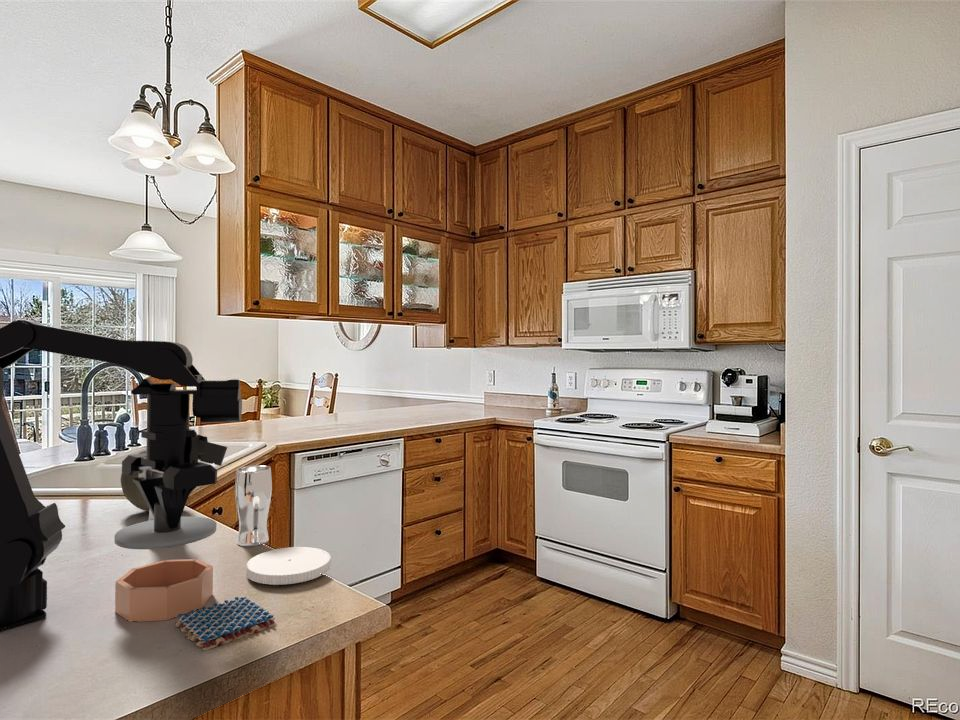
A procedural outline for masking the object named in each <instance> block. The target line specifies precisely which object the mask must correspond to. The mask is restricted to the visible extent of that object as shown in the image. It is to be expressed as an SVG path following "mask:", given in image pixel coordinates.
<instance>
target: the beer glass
mask: <svg viewBox="0 0 960 720" xmlns="http://www.w3.org/2000/svg"><path fill="white" fill-rule="evenodd" d="M271 469H272V468H271V466H267V465H247V466H241V467H238V468H237V469H236V475H235V481H234V482H235V484H234V486H235V487H234V497H235V507H236V512H237V517H238V527H239V528H238V534H237V539H236V544H237V546H239V545H240V547H245V546H246V547H245V548H247V547H256V546H257V547H258V546H261V544H262V545H264V544H266V543H268V542H269V533H268V517H269V510H270V505H271V498H272V491H273V482H272V480H273V479H272V470H271ZM253 540H254V541H253ZM259 543H260V544H259Z"/></svg>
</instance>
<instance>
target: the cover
mask: <svg viewBox="0 0 960 720" xmlns="http://www.w3.org/2000/svg"><path fill="white" fill-rule="evenodd" d="M216 531H217V522H216V520H215V519H212V518H209V517H203V516H182V517H181V519H180V521H179V524H178V527H177V528H173V529H170V528H169V527H168V524H167V522H166V519H165V516H164V513H163V510H162V507H161V504H160V502H157V503H155V504H154V520H150V521H148V520H146V521H142V522H138V523H134V524H131V525H129V526H126V527H123V528H121V529H120V530H118V531H116V533H114V544H115V545H116V546H117V547H120V548H123V549H129V550H156V549H157V550H158V549H166V548H173V547H179V546H183V545H188V544H193V543H196V542H198V541H201V540H204V539H206V538H209V537H211V536H213V535H214V534H215V533H216Z"/></svg>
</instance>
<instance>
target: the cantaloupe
mask: <svg viewBox="0 0 960 720" xmlns="http://www.w3.org/2000/svg"><path fill="white" fill-rule="evenodd" d="M143 453H147V450H144V451H141V452H140V451H139V453H138V454H143ZM134 478H139V471H134V473H133V475H126V474H123V473H122V472H121V474H120V486H121V490H122V493H123V495H124V497H125V498H126V500H127V501H128V502H130V504H132V505H133V506H134V507H136V508H137V509H139V510H142V511H146V512H149V510H150V508H149V506H148V505H147V503H146V501H145V499H144V497H143V495H142V494H141V492H140V490H139V489H138V487H137V485H136V483H135V482H133V479H134Z"/></svg>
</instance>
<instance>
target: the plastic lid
mask: <svg viewBox="0 0 960 720" xmlns="http://www.w3.org/2000/svg"><path fill="white" fill-rule="evenodd" d="M331 560H332V557H331V554H330V553H329V552H327V551H325V550H324V549H321V548H319V547H317V548H316V547H310V546H308V547H307V546H291V547H290V546H289V547H281V548H275V549H271V550H267V551H265V552H262V553H259V554H257V555H254V556H253V557H251V558H250V559H249V560H248V561H247V562H246V565H245V566H246V571H245V572H246V573H245V574H246V577H247V579H248V580H250V581H252V582H255V583H257V584H262V585H273V586H279V585H281V586H282V585H291V584H292V585H293V584H299V583H303V582H307V581H310V580H311V581H312V580H314V579H317V578H319V577H321V576H322V575H325V574H326V573H327V572H328V571H329V570H330V569H331V565H332V564H331ZM320 573H321V574H322V575H321V574H320Z"/></svg>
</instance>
